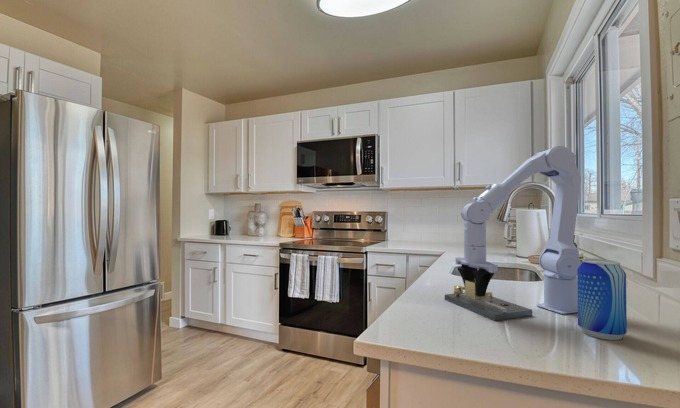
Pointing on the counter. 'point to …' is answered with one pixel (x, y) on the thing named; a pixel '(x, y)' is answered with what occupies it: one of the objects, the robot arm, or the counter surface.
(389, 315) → the counter surface
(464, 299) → the bolt plate
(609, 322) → the beer can
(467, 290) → the leg
